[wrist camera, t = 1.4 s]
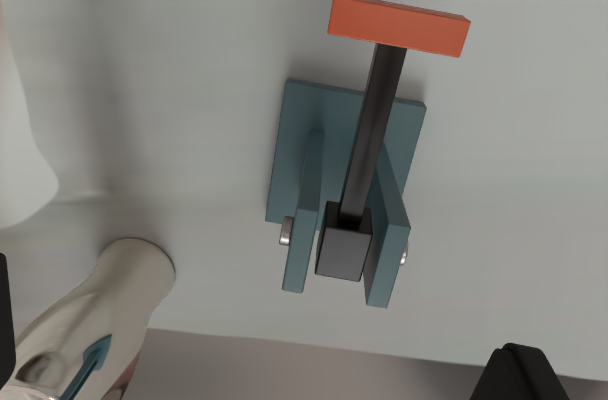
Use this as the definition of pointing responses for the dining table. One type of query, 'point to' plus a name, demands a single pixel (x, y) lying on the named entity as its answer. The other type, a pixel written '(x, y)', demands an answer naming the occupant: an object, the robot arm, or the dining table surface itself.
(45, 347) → the metal tumbler
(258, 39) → the dining table surface
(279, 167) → the bracket
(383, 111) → the lever
